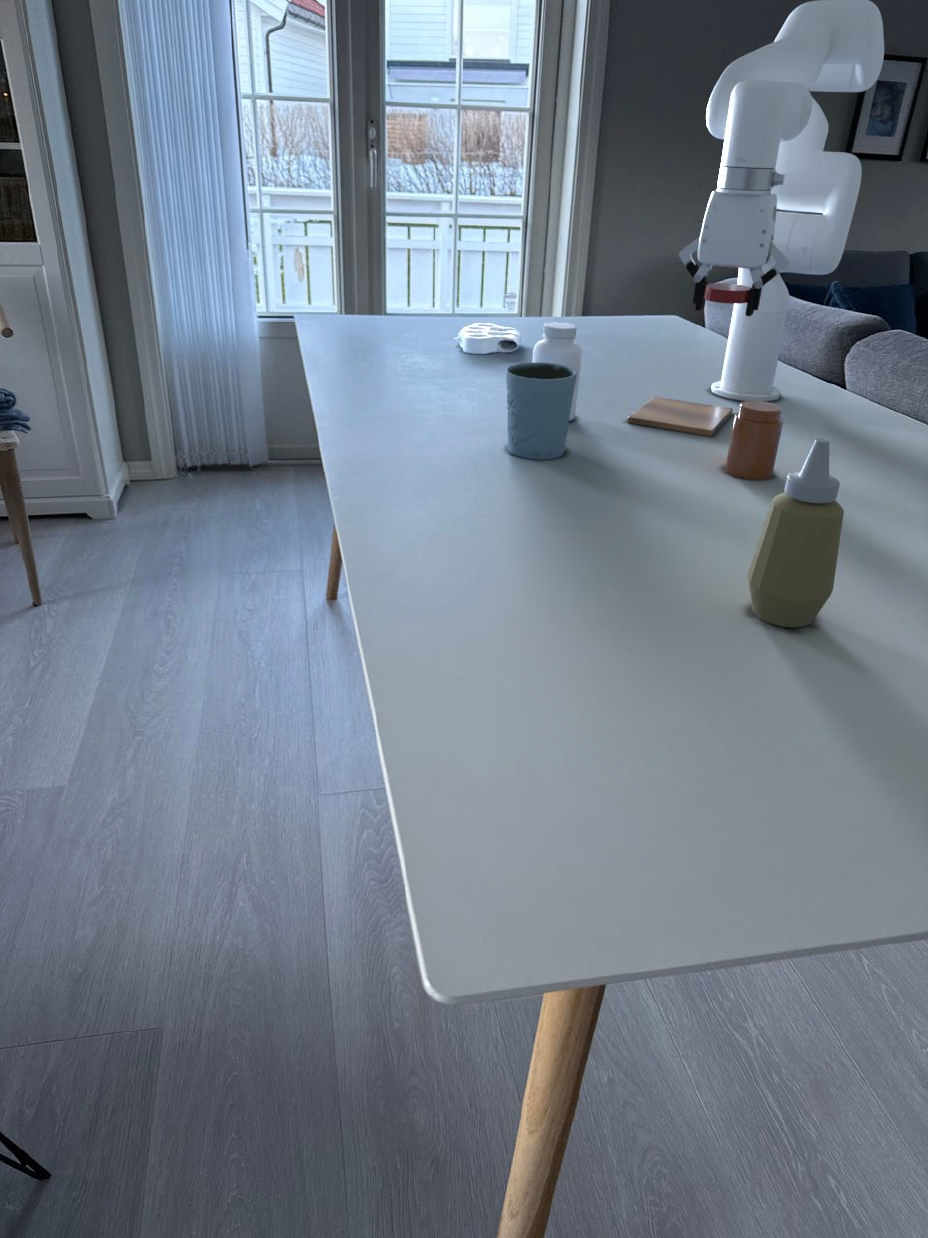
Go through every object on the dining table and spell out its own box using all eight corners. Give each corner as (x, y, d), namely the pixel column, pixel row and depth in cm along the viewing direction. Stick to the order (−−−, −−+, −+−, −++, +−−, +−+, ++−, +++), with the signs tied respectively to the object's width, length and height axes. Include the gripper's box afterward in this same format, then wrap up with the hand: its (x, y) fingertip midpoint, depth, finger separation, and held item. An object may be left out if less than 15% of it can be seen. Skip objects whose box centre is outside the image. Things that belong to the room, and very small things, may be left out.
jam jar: (730, 461, 134) (742, 397, 129) (775, 469, 131) (789, 404, 127) (720, 474, 128) (732, 407, 124) (768, 482, 126) (782, 414, 121)
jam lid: (695, 299, 134) (697, 286, 134) (712, 293, 140) (714, 281, 139) (740, 305, 131) (742, 292, 130) (756, 299, 136) (758, 286, 135)
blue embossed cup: (575, 446, 138) (583, 366, 132) (560, 465, 129) (567, 381, 124) (512, 437, 140) (517, 359, 135) (493, 455, 132) (497, 373, 126)
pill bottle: (573, 425, 148) (582, 331, 141) (524, 420, 149) (531, 327, 142) (577, 412, 155) (586, 322, 148) (531, 408, 156) (538, 318, 149)
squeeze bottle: (729, 597, 93) (762, 426, 85) (804, 596, 94) (844, 427, 86) (758, 635, 86) (798, 453, 78) (838, 634, 87) (887, 454, 78)
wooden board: (654, 402, 163) (655, 396, 163) (732, 413, 158) (733, 408, 157) (627, 422, 150) (628, 416, 150) (710, 436, 145) (711, 430, 145)
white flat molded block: (515, 356, 193) (448, 352, 194) (523, 340, 208) (461, 336, 210) (516, 340, 191) (449, 336, 193) (524, 325, 207) (461, 321, 208)
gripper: (812, 183, 127) (787, 314, 136) (691, 177, 134) (674, 302, 143) (805, 186, 121) (779, 322, 130) (678, 179, 128) (661, 309, 137)
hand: (724, 311), depth 136 cm, fingers closed on jam lid, 6 cm apart
